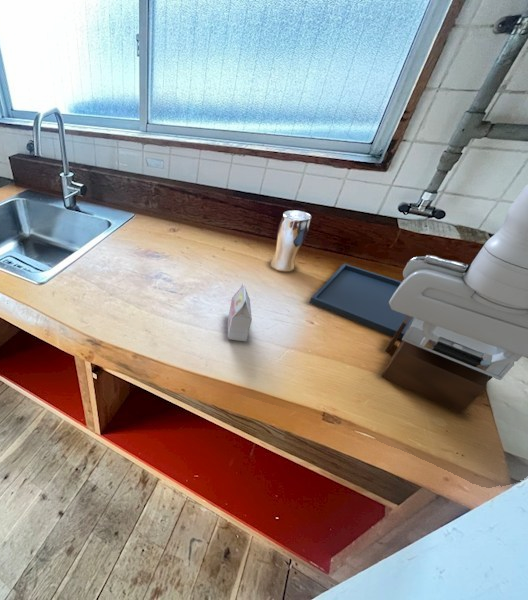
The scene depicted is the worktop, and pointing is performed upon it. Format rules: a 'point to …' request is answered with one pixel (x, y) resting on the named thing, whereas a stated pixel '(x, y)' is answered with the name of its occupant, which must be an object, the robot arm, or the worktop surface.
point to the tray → (362, 299)
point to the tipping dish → (458, 343)
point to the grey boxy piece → (239, 316)
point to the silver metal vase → (290, 239)
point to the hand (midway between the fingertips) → (454, 356)
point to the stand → (434, 375)
